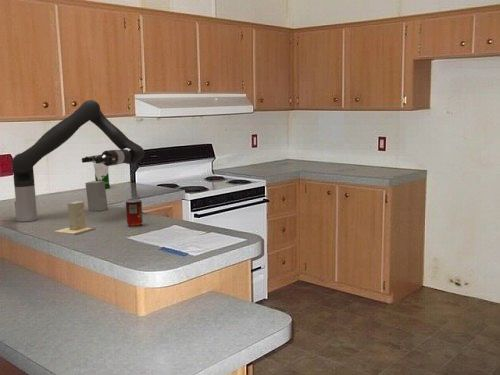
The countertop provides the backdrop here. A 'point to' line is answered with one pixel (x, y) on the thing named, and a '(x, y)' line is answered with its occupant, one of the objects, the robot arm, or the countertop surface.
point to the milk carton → (102, 174)
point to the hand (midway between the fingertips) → (89, 160)
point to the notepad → (68, 231)
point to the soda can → (134, 212)
